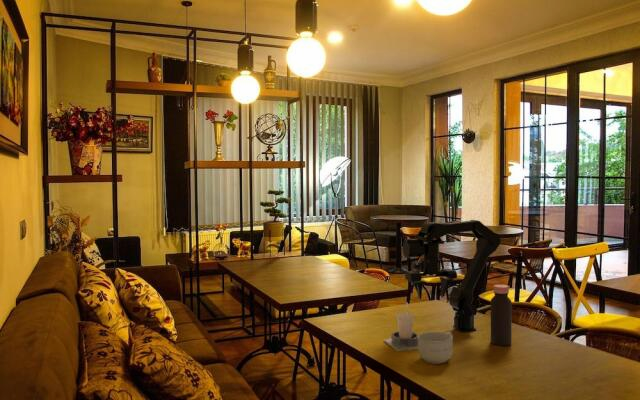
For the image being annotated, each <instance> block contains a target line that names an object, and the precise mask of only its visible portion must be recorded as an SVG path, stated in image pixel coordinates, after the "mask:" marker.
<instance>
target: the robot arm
mask: <svg viewBox="0 0 640 400" xmlns="http://www.w3.org/2000/svg"><path fill="white" fill-rule="evenodd" d="M468 232H471V233H472V235H473V237H475V238H476V239H477V240H476V243H475V246H476V247H475V249H476V250H475V253H474V256H473V258H472V260H471V261H470V264H469V266H468V268H467V270H466V272H465V274H464V276H463V279H462V281H461V282H460V284H459V285H458V286H457V287H456V286H453V287H452V288H451V291H450V293H449V294H448V297H449V298H448V303H449V305H450V306H451V308H452V310H453V311H454V317H453V325H452V327H453V329H455V330H456V331H457V330H458V331H460V332H463V333H464V332H471V331H477V328H475V316H476V315H477V313H478V308H476V307H475V305H474V304H473V301H474V288H475V287H476V284H477V283H478V280H479V278H480V277H481V276H480V275H481V274H482V271H483V270H484V267H485V265H486V263H487V262H488V261H487V260H488V259H489V257H490V256H491V255H492V254H493V253H495V252H496V251H497V249H498V248H499V246H500V245H501V242H502V239H501V236H500V235H499V234H498V233H496V232H495V231H493V230H492V229H490V228H488V227H487V226H486V225H485V224H483V222H481V221H480V220H479V219H478V220H476V219H470V220H466V221H465V220H464V221H453V222H446V223H445V222H444V223H443V222H434V221H425V222H423V223H422V225H421V226H420V230H419V231H418V232H417V234H416V236H415V238H405V242H403V246H402V254H403V257H405V258H406V259H409V258H421V261H420V262H419V261H418V260H413V261H411V270H410V271H406V272H405V274H404V279H405V280H408V282H409V283H412V285H413V287H414V289H415V291H416V294H417V297H418V299H419V300H422V297H423V296H422V295H423V281H422V280H423V279H428V278H439V281H440V296H441V298H444V297H445V294H446V292H447V291H448V289H449V287H450V285H451V283H452V282H453V281H455V280H456V279H458V272H457V270H455V269H453V268H452V269H451V268H441V269H440V263H442V260H441V259H440V245H444V244H445V243H446V242H445V241H444V240H442V237H445V236H446V235H450V234H458V233H468Z"/></svg>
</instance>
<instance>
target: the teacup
mask: <svg viewBox="0 0 640 400" xmlns="http://www.w3.org/2000/svg"><path fill="white" fill-rule="evenodd" d="M417 339H418V349H417V350H418V354H419V356H420V358H421V359H423V360H424V361H425V362H426V363H428V364H434V365H437V364H444V363H446V362H447V361H449V359H450V358H451V357H452V356H453V341H454V335H453V333H452V332H451V331H447V332H444V331H443V332H442V331H425V332H421V333H419V334H418V336H417Z"/></svg>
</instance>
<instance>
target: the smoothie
mask: <svg viewBox="0 0 640 400" xmlns="http://www.w3.org/2000/svg"><path fill="white" fill-rule="evenodd" d="M408 303H409V302H408V301H406V302H405V312H404V311H402V312H401V311H400V312H396V313H395V318H396V319H397V320H396V321H397V328H398V331H399V337H400V338H403V339H410V338H411V337H412V332H413V328H414V321H415V320H414V319H415V318H416V316H415V313H412V312H409V304H408Z"/></svg>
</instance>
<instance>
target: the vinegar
mask: <svg viewBox="0 0 640 400" xmlns="http://www.w3.org/2000/svg"><path fill="white" fill-rule="evenodd" d="M509 292H510V288H509V285H507V284H494V285H493V294H494V296H493V297H491V298H490V343H491V344H493V345H495V346H502V347H507V346H510V345H512V323H513V322H512V316H513V315H512V313H513V312H512V311H513V310H512V309H513V307H512V300H511V298H510V297H509V296H508V295H509Z"/></svg>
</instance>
